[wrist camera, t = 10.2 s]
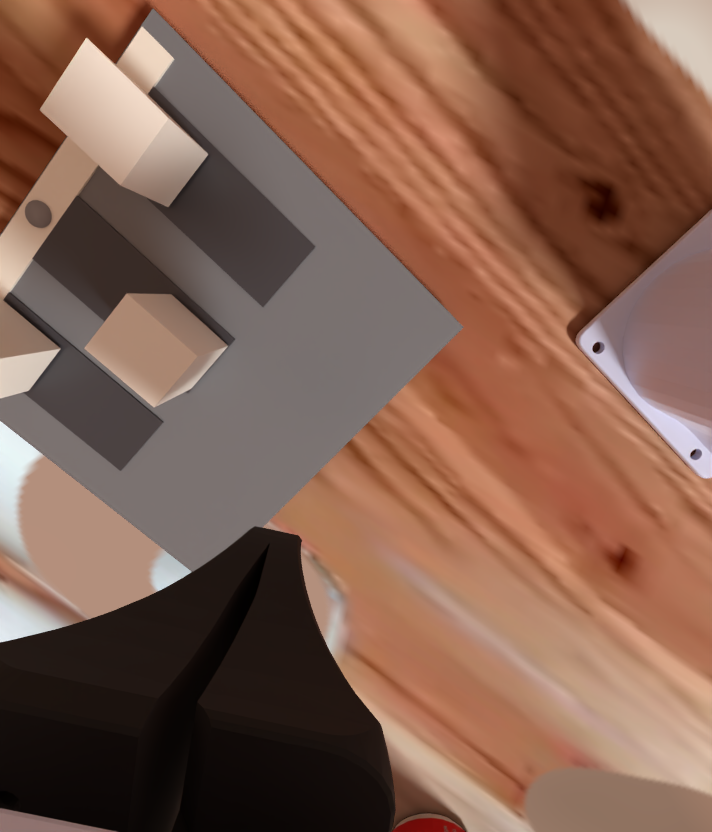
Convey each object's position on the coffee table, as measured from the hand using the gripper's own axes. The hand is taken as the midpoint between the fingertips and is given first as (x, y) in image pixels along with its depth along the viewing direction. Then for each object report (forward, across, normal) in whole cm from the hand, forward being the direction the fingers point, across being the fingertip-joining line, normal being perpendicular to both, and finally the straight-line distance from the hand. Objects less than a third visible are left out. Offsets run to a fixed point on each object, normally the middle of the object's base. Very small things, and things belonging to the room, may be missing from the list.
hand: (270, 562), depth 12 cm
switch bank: (+10, +6, -4) cm, 12 cm away
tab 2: (+8, +8, -11) cm, 16 cm away
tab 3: (+8, +6, -4) cm, 11 cm away
